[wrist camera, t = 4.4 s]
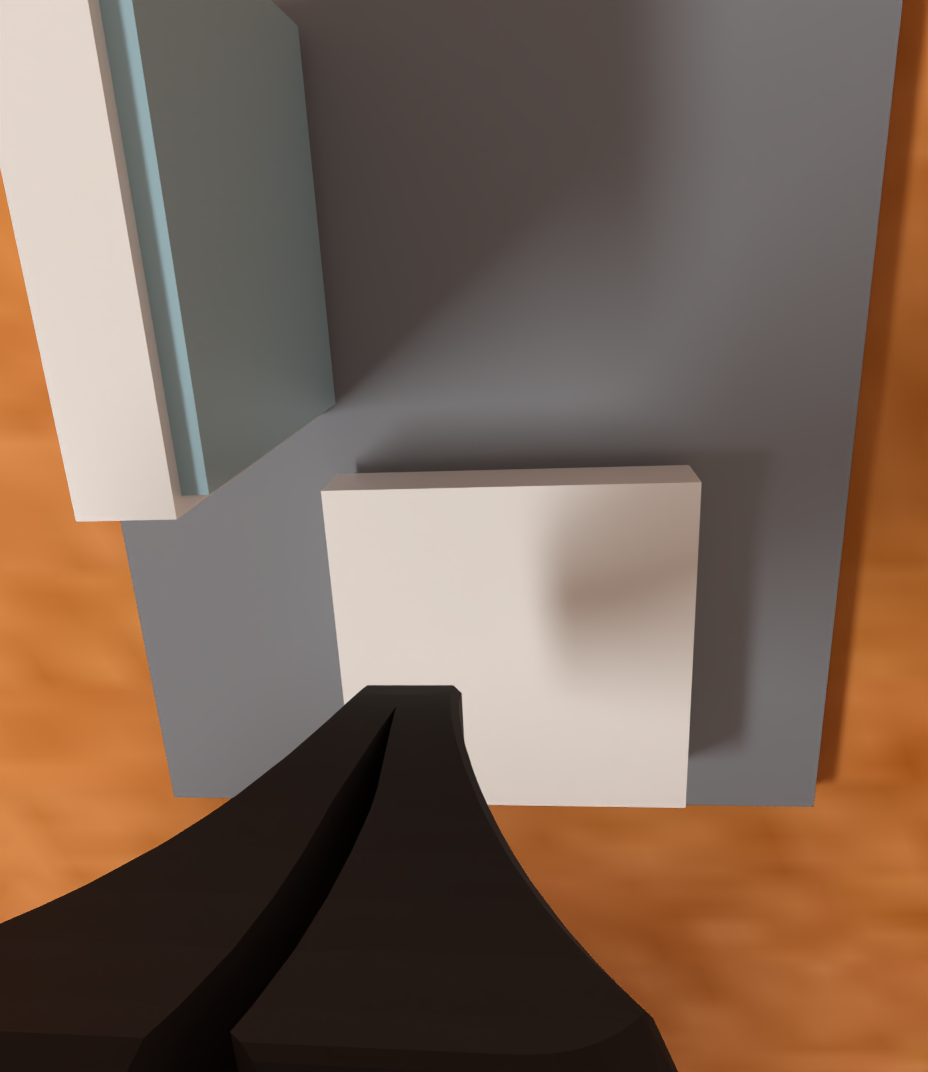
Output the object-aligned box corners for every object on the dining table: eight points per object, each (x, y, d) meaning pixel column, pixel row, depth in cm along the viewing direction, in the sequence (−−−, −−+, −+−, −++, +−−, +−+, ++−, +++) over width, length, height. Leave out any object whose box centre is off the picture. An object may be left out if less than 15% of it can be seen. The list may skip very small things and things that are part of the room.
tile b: (339, 413, 14) (204, 518, 8) (261, 415, 14) (76, 521, 8) (300, 14, 12) (90, -202, 6) (210, 21, 12) (-75, -185, 6)
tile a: (369, 758, 16) (673, 761, 16) (355, 802, 15) (685, 807, 14) (340, 469, 14) (685, 460, 14) (320, 490, 13) (701, 482, 12)
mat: (803, 787, 16) (813, 806, 16) (186, 779, 18) (174, 797, 17) (892, -63, 12) (912, -79, 11) (41, 11, 13) (18, -1, 12)
